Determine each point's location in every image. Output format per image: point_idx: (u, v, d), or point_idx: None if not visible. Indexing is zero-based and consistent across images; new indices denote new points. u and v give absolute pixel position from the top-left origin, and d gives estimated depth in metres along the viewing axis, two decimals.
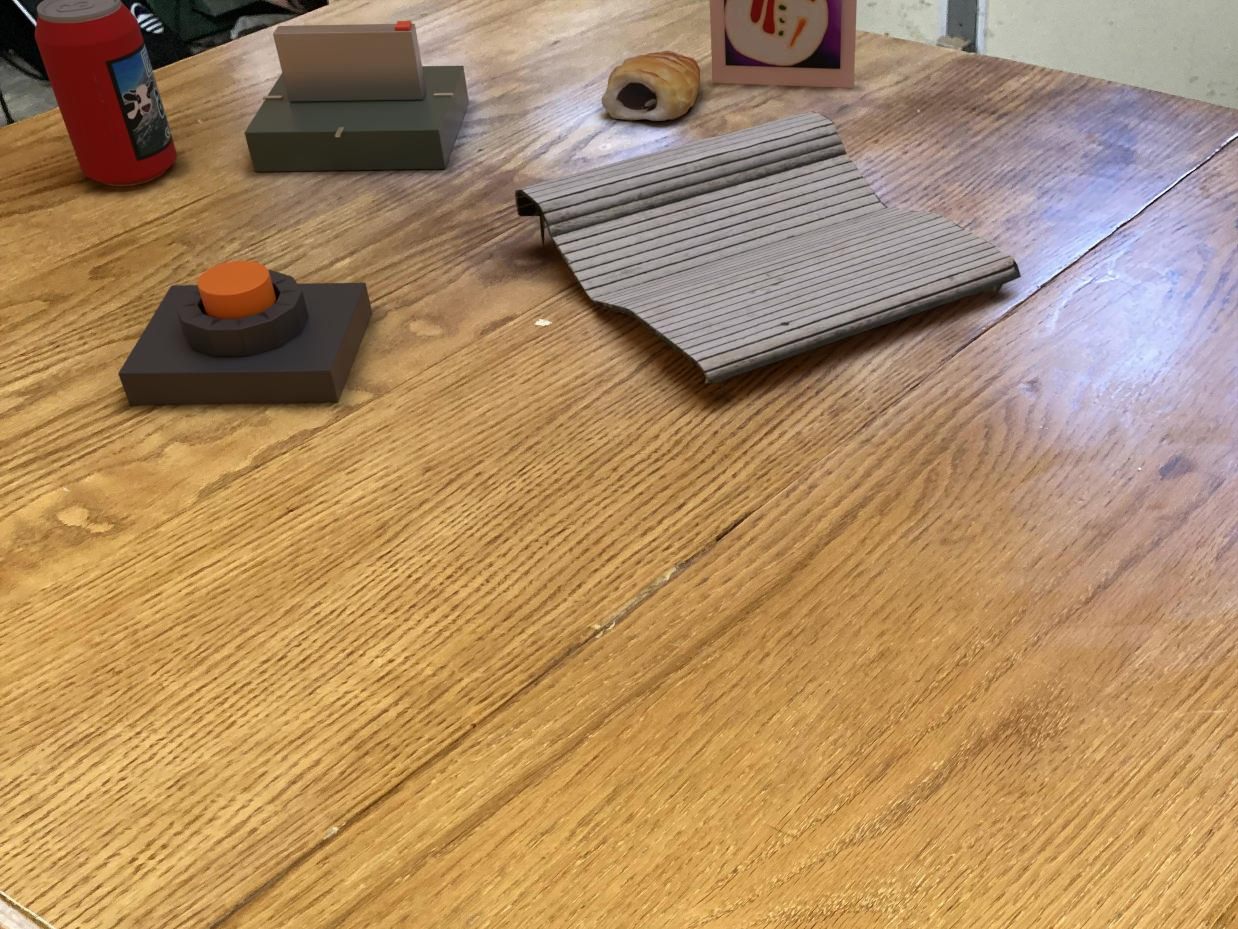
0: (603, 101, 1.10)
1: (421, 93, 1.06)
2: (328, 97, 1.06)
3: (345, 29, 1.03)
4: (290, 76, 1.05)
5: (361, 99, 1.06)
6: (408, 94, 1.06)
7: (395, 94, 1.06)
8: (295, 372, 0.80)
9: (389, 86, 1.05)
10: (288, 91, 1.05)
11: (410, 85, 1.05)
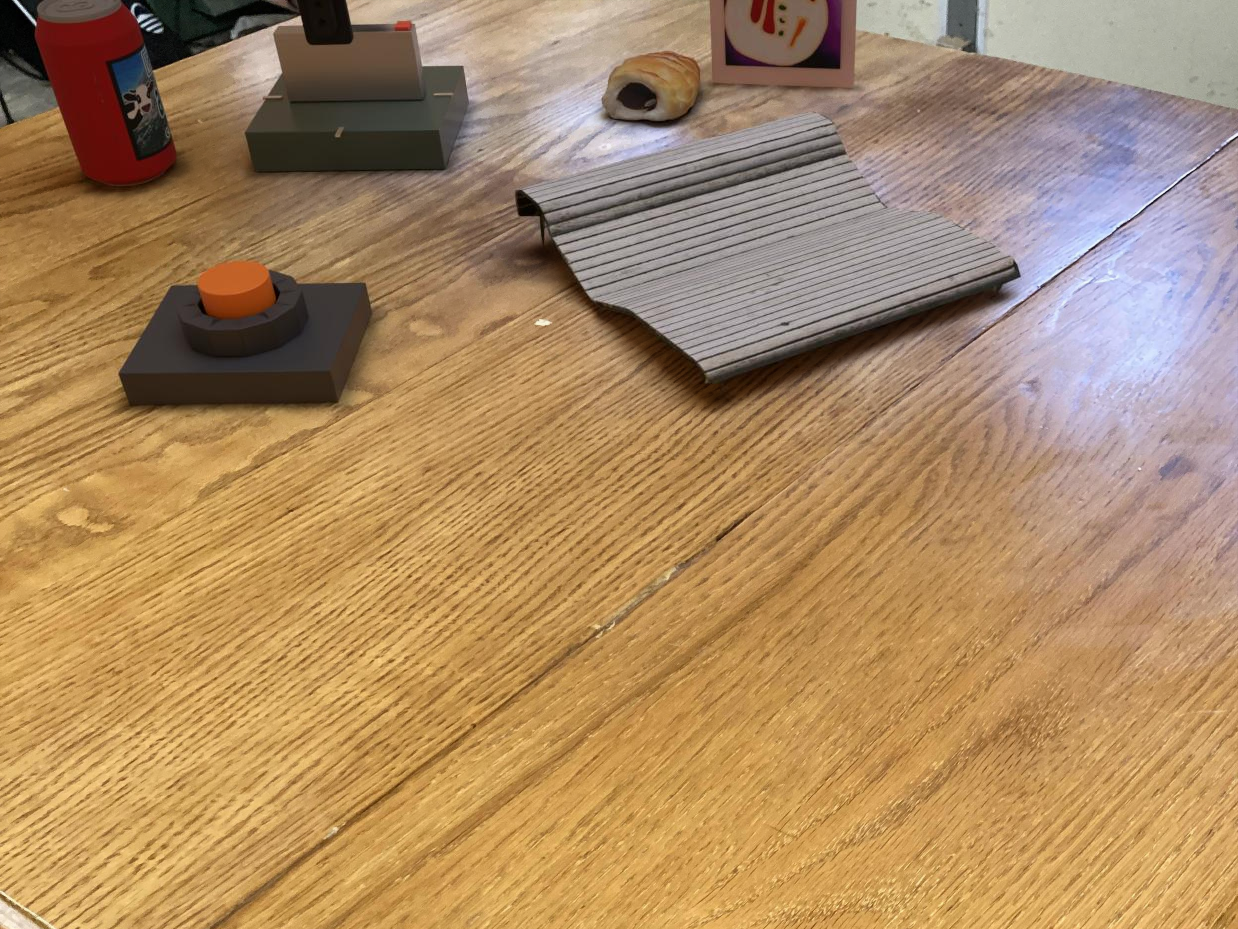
0: (603, 101, 1.10)
1: (421, 93, 1.06)
2: (328, 97, 1.06)
3: None
4: (290, 76, 1.05)
5: (361, 99, 1.06)
6: (408, 94, 1.06)
7: (395, 94, 1.06)
8: (295, 372, 0.80)
9: (389, 86, 1.05)
10: (288, 91, 1.05)
11: (410, 85, 1.05)
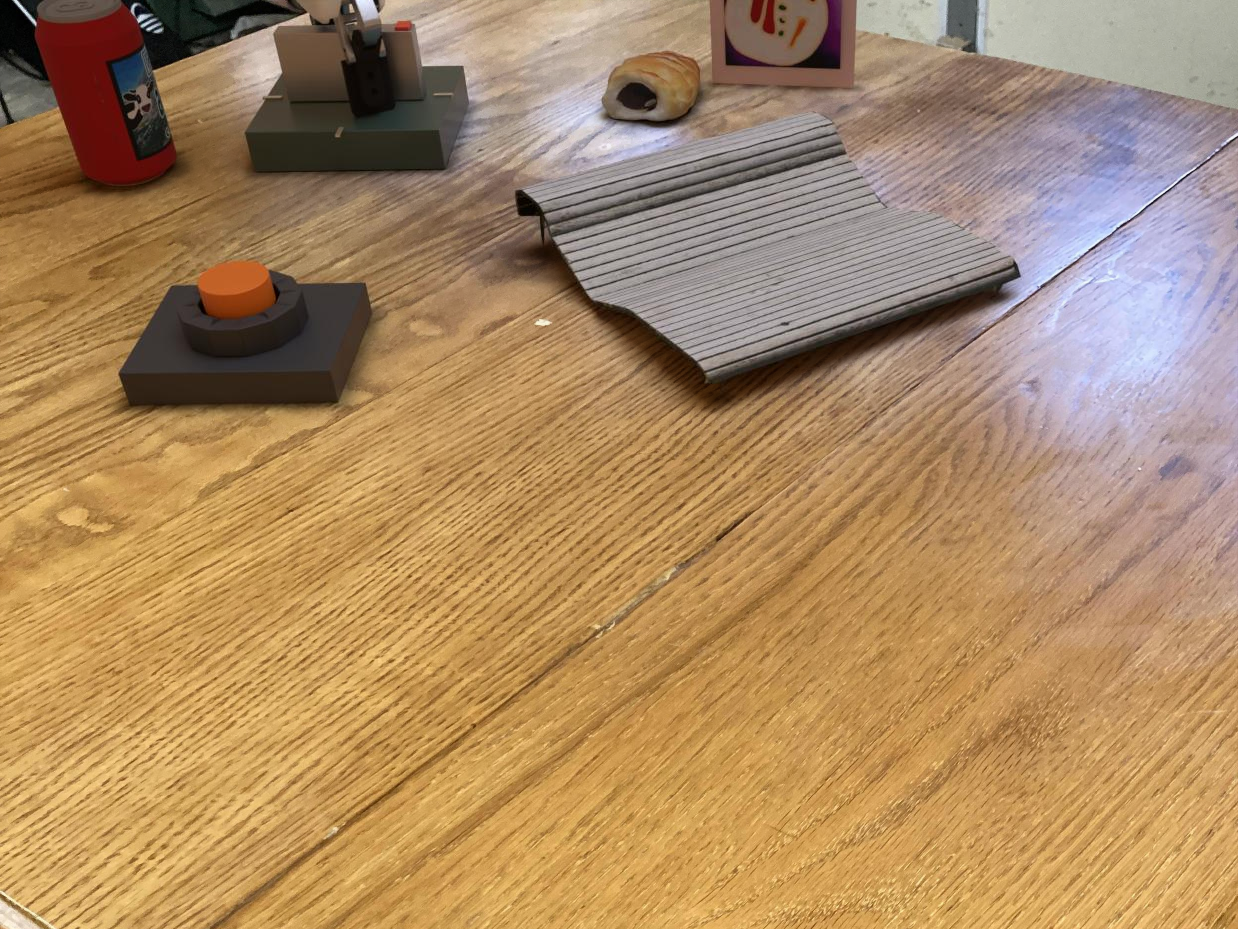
0: (603, 101, 1.10)
1: (421, 93, 1.06)
2: (328, 97, 1.06)
3: None
4: (290, 76, 1.05)
5: None
6: (408, 94, 1.06)
7: (395, 94, 1.06)
8: (295, 372, 0.80)
9: None
10: (288, 91, 1.05)
11: (410, 85, 1.05)
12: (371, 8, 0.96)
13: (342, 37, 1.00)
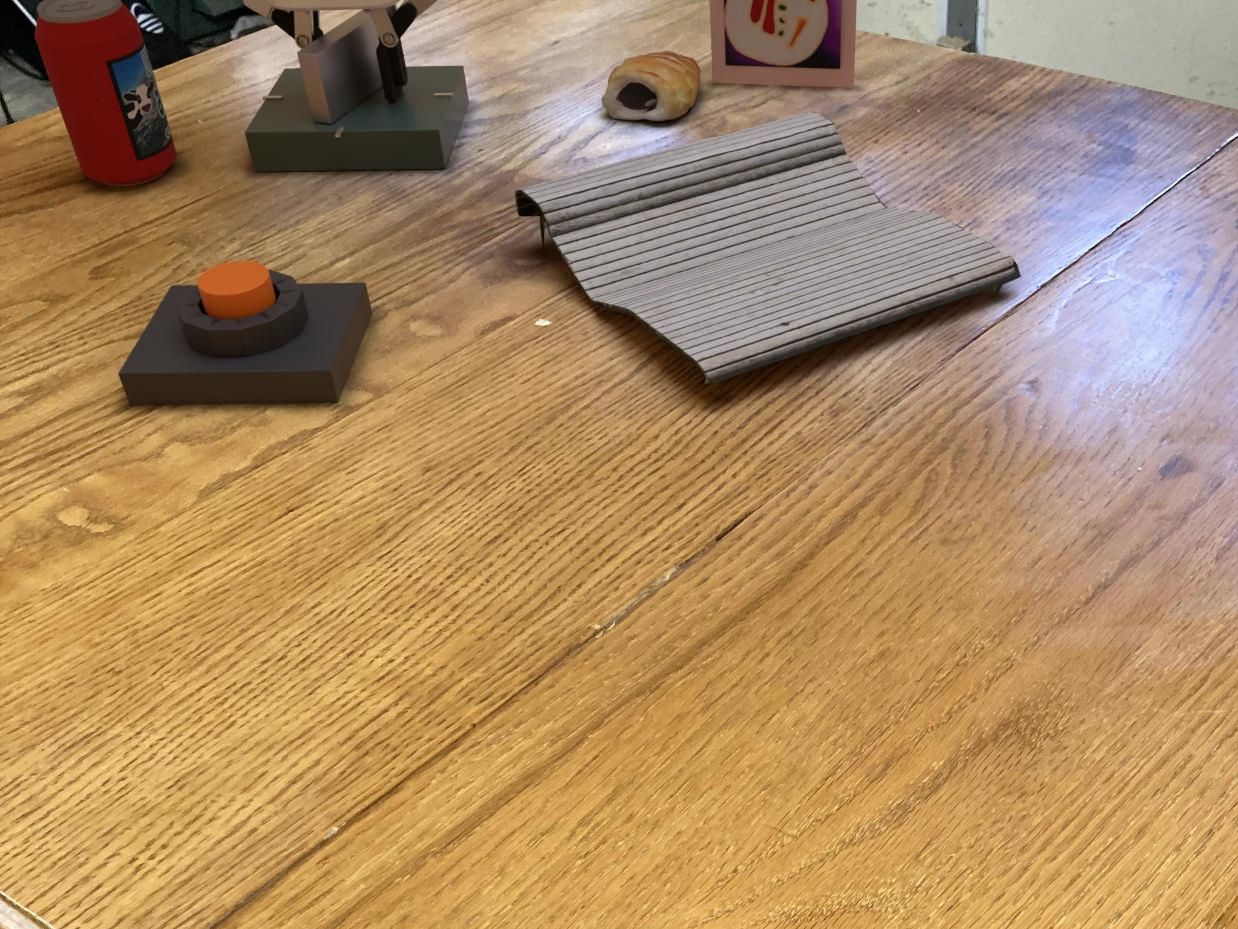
0: (603, 101, 1.10)
1: None
2: (352, 104, 1.05)
3: (346, 28, 1.03)
4: (329, 95, 1.02)
5: None
6: None
7: None
8: (295, 372, 0.80)
9: None
10: (330, 112, 1.02)
11: None
12: None
13: (388, 21, 1.02)
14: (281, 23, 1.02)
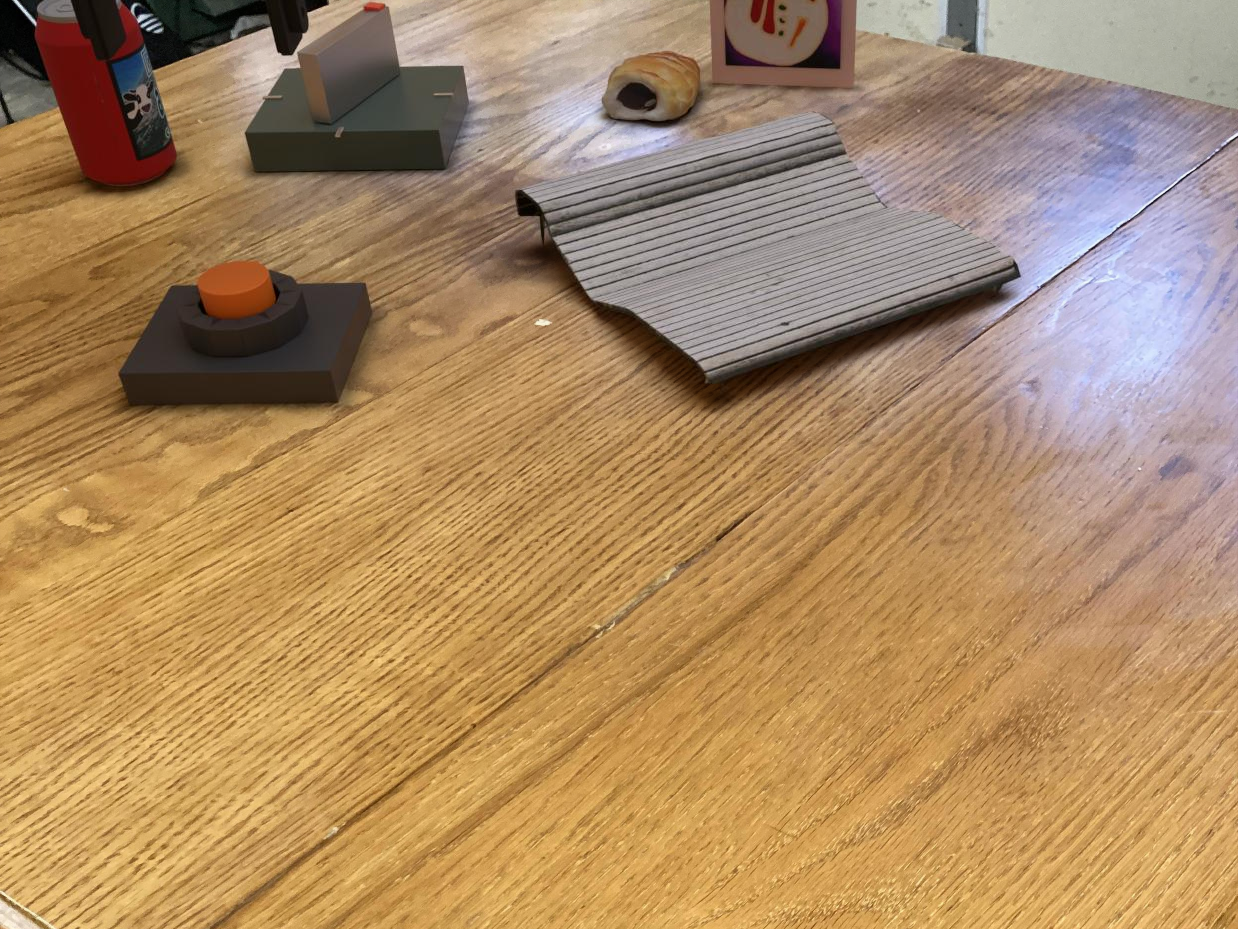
0: (603, 101, 1.10)
1: (398, 67, 1.09)
2: (352, 104, 1.05)
3: (346, 28, 1.03)
4: (329, 95, 1.02)
5: None
6: (393, 72, 1.09)
7: (387, 76, 1.08)
8: (295, 372, 0.80)
9: (383, 70, 1.07)
10: (330, 112, 1.02)
11: (393, 62, 1.08)
12: None
13: None
14: None
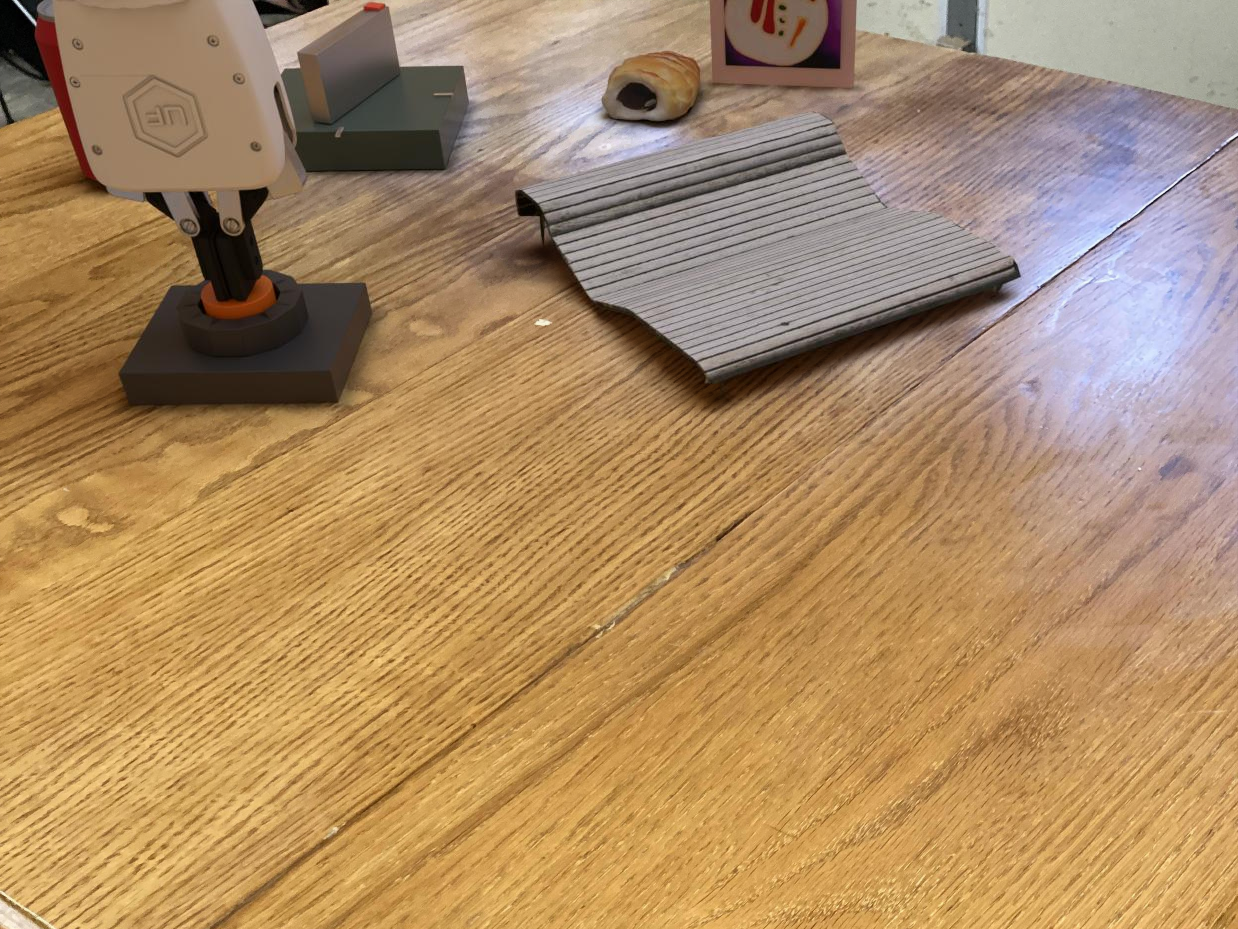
0: (603, 101, 1.10)
1: (398, 67, 1.09)
2: (352, 104, 1.05)
3: (346, 28, 1.03)
4: (329, 95, 1.02)
5: None
6: (393, 72, 1.09)
7: (387, 76, 1.08)
8: (295, 372, 0.80)
9: (383, 70, 1.07)
10: (330, 112, 1.02)
11: (393, 62, 1.08)
12: (299, 163, 0.77)
13: (237, 206, 0.77)
14: (158, 203, 0.78)
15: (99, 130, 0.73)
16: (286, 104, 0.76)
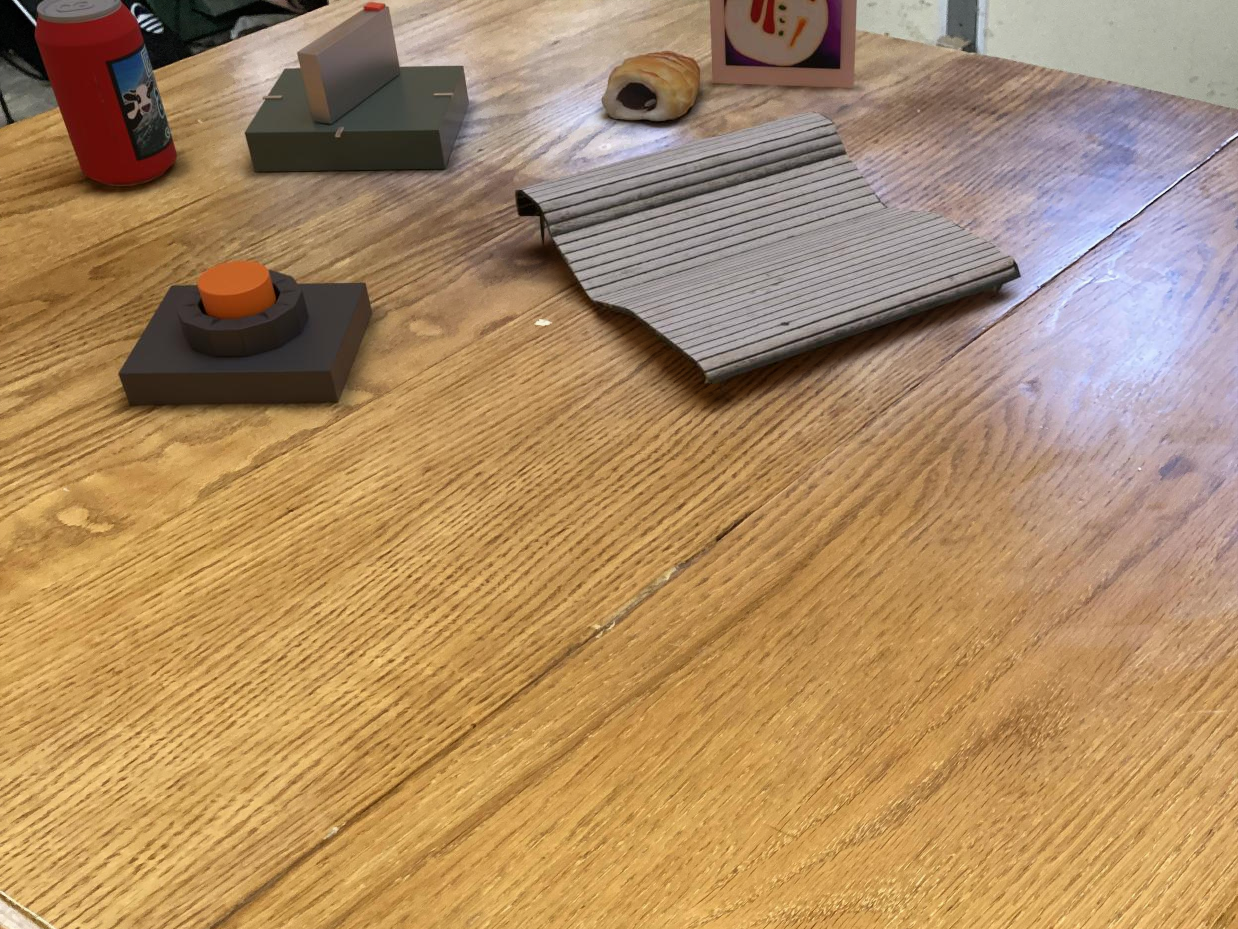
0: (603, 101, 1.10)
1: (398, 67, 1.09)
2: (352, 104, 1.05)
3: (346, 28, 1.03)
4: (329, 95, 1.02)
5: None
6: (393, 72, 1.09)
7: (387, 76, 1.08)
8: (295, 372, 0.80)
9: (383, 70, 1.07)
10: (330, 112, 1.02)
11: (393, 62, 1.08)
12: None
13: None
14: None
15: None
16: None
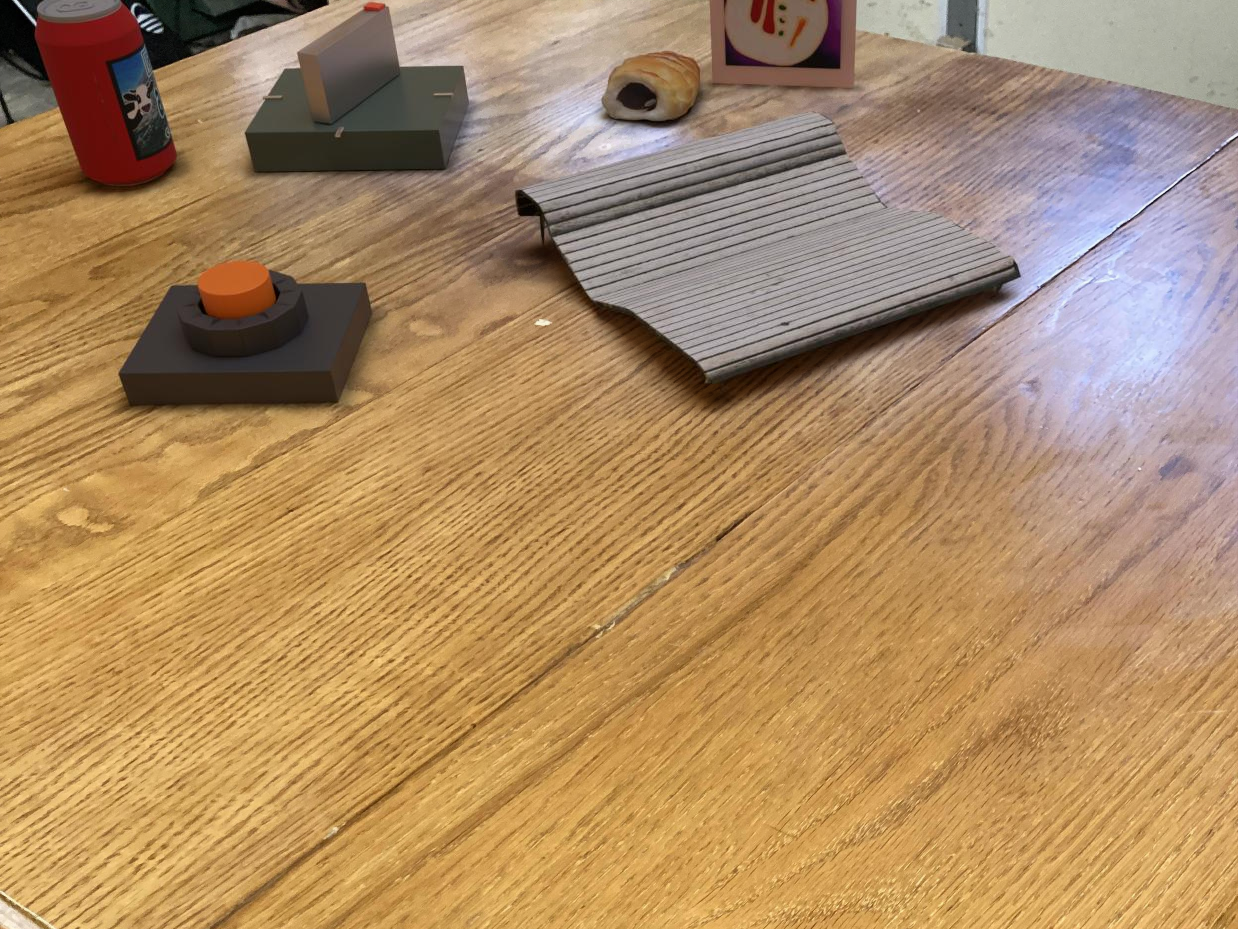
0: (603, 101, 1.10)
1: (398, 67, 1.09)
2: (352, 104, 1.05)
3: (346, 28, 1.03)
4: (329, 95, 1.02)
5: None
6: (393, 72, 1.09)
7: (387, 76, 1.08)
8: (295, 372, 0.80)
9: (383, 70, 1.07)
10: (330, 112, 1.02)
11: (393, 62, 1.08)
12: None
13: None
14: None
15: None
16: None
